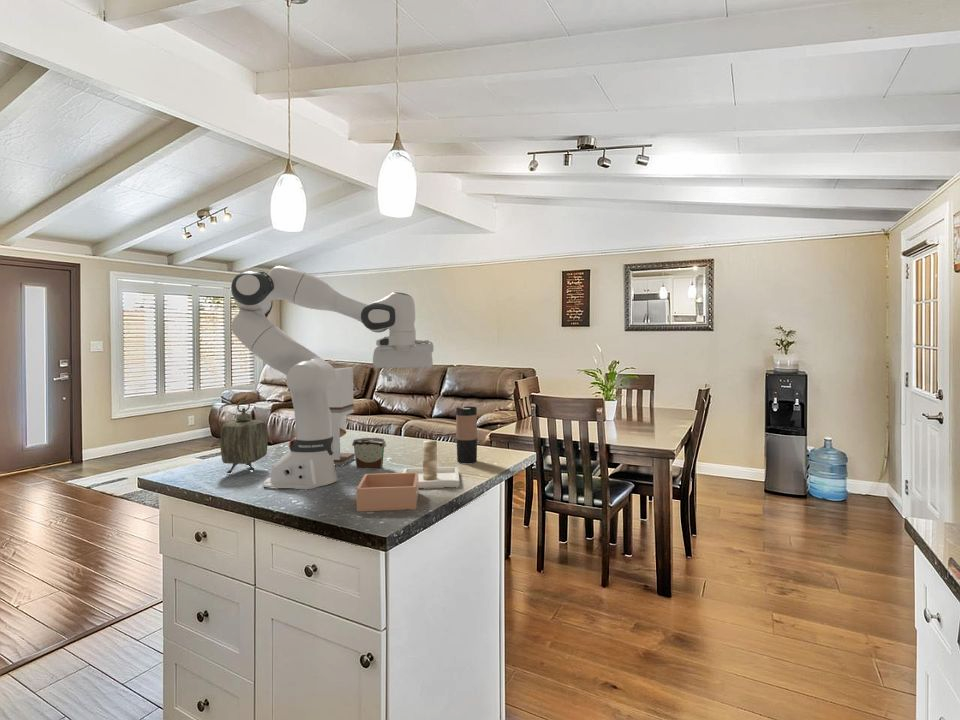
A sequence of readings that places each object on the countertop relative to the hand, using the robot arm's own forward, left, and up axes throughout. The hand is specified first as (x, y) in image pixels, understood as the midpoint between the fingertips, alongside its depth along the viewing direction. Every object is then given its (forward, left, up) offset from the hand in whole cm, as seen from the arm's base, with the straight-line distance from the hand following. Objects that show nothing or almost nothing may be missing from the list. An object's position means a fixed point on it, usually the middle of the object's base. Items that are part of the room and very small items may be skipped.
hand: (403, 381), depth 183 cm
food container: (-12, +8, -31) cm, 35 cm away
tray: (+9, -13, -31) cm, 35 cm away
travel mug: (+22, +12, -31) cm, 40 cm away
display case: (-27, +18, -31) cm, 45 cm away
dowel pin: (+9, -13, -30) cm, 34 cm away
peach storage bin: (-2, -34, -31) cm, 46 cm away
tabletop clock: (-55, +6, -31) cm, 64 cm away
